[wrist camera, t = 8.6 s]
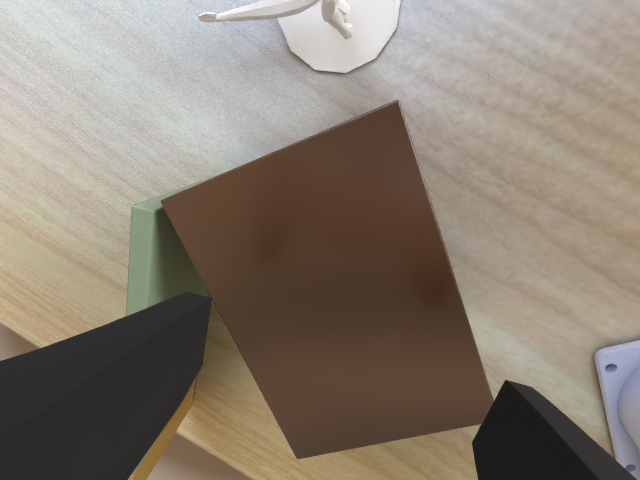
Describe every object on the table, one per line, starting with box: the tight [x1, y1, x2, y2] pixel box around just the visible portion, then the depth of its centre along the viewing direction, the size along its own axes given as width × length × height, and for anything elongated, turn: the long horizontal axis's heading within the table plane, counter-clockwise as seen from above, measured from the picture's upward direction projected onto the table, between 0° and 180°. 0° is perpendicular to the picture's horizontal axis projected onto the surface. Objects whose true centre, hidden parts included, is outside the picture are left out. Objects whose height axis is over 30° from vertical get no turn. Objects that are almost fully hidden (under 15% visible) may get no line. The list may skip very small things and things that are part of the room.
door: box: [126, 178, 211, 480], centre depth 17 cm, size 15×1×6 cm, turn 166°
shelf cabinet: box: [160, 100, 494, 459], centre depth 15 cm, size 12×8×6 cm
